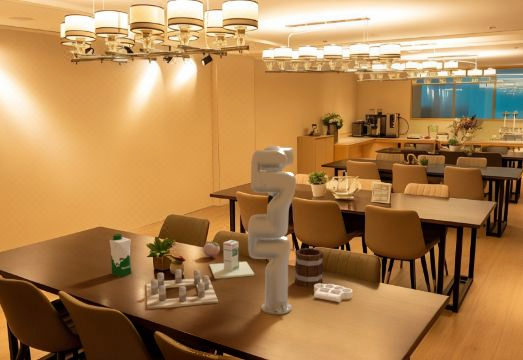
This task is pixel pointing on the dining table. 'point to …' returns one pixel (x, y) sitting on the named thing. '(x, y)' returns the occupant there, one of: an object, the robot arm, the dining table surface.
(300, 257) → the mug
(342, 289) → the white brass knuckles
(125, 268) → the milk carton
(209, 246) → the decorative fruit
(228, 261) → the syrup box
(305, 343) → the dining table surface
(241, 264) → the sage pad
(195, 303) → the post board
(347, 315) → the dining table surface
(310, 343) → the dining table surface
